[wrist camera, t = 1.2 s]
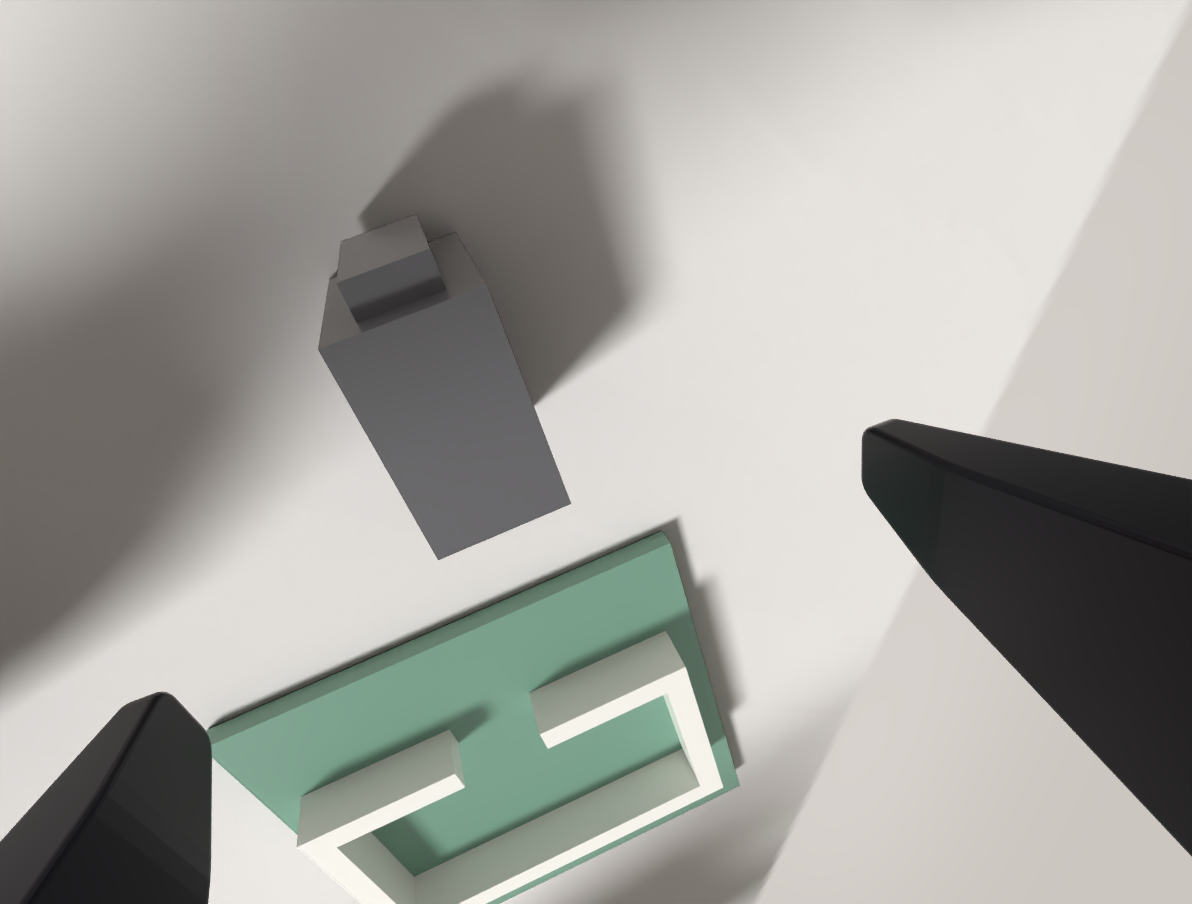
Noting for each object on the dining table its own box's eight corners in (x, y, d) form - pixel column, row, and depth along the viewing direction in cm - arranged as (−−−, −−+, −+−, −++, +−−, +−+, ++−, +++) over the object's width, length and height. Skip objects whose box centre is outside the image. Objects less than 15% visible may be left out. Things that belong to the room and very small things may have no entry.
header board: (416, 926, 33) (420, 990, 31) (207, 729, 23) (190, 801, 21) (732, 772, 35) (758, 821, 33) (662, 530, 25) (692, 576, 23)
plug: (421, 454, 21) (438, 560, 16) (312, 245, 17) (294, 308, 13) (526, 412, 21) (570, 503, 17) (442, 199, 17) (471, 243, 13)
